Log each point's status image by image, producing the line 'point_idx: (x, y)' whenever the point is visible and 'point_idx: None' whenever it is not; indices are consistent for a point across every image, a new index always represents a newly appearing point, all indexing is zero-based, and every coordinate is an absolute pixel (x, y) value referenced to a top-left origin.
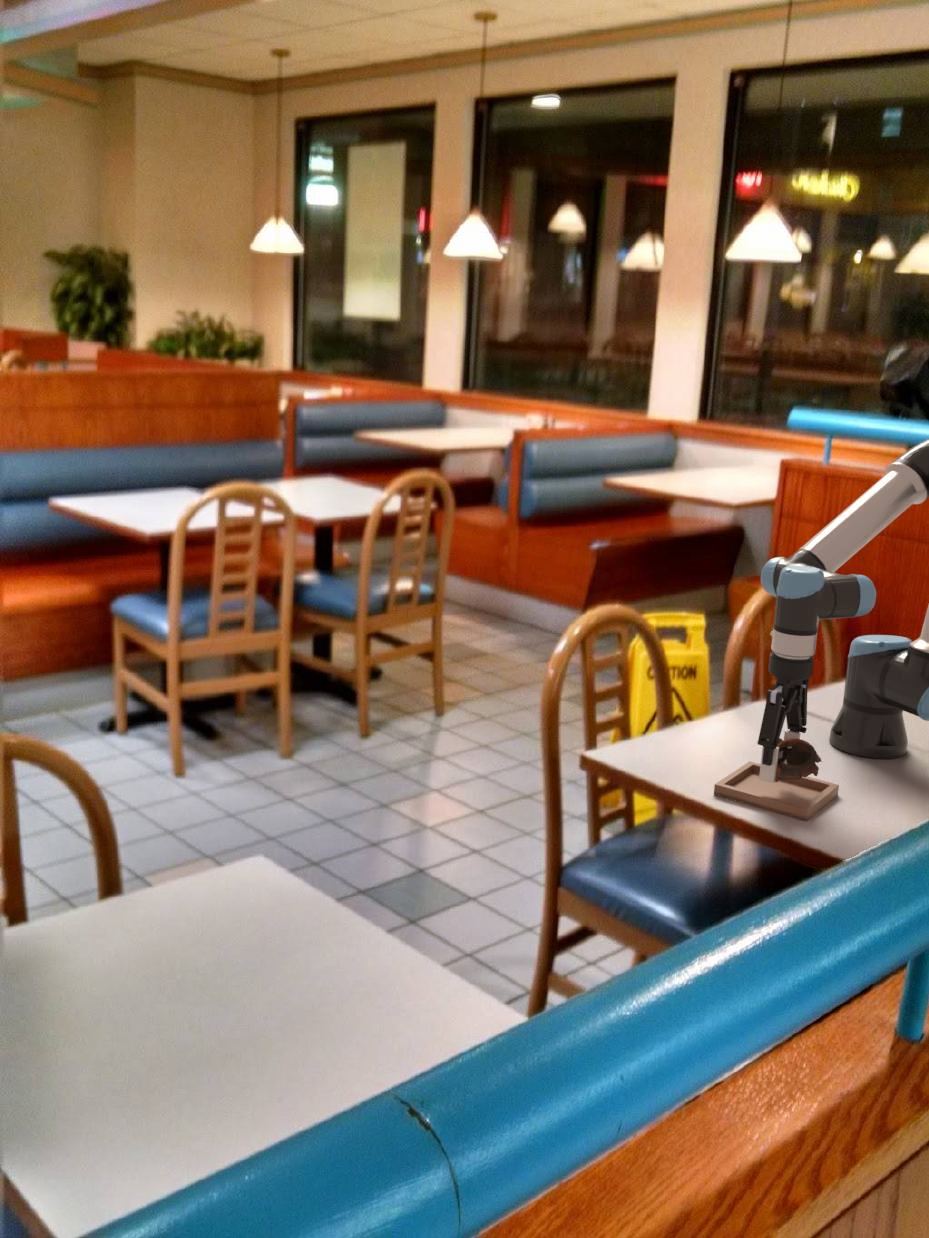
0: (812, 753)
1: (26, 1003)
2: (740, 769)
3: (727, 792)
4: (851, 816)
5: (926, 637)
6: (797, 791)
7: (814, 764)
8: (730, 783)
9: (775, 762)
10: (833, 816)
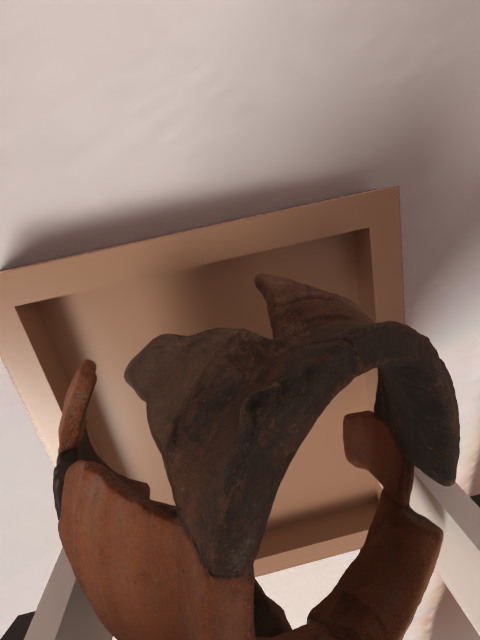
0: (317, 413)
1: None
2: None
3: None
4: (157, 76)
5: None
6: None
7: (296, 322)
8: (327, 524)
9: (470, 499)
10: (232, 139)
